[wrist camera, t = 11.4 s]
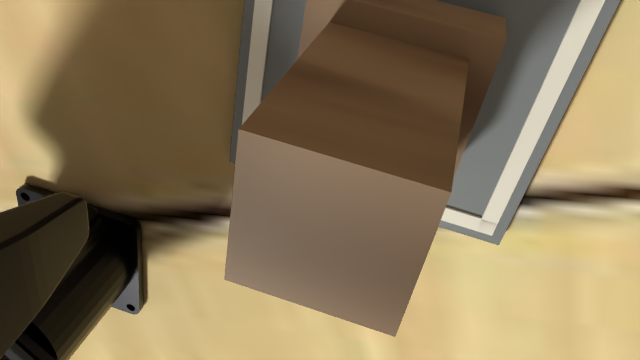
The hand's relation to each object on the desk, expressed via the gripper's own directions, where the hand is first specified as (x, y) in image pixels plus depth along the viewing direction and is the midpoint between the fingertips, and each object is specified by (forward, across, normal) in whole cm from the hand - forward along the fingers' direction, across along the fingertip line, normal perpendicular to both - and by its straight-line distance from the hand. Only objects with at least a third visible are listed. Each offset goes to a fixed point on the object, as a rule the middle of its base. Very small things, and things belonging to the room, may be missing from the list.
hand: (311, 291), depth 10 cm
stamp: (+10, 0, 0) cm, 11 cm away
